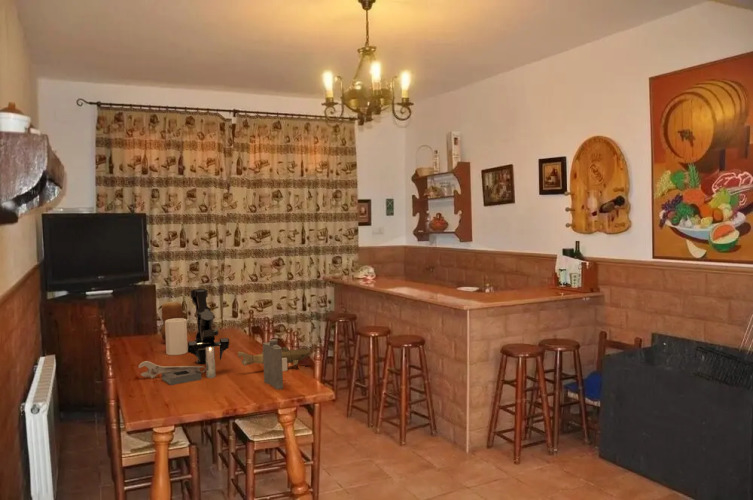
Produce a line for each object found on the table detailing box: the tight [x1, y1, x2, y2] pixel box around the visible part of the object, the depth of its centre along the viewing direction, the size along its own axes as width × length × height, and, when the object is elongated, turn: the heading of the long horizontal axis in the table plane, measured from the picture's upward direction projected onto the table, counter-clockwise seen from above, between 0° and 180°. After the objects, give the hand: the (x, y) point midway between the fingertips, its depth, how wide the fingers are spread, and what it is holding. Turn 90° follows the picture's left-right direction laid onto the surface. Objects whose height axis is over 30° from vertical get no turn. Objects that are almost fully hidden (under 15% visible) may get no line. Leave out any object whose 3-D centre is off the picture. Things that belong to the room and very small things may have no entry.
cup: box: [165, 317, 188, 356], centre depth 327 cm, size 11×11×18 cm
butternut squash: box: [161, 301, 184, 342], centre depth 354 cm, size 14×13×25 cm
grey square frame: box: [161, 368, 202, 386], centre depth 272 cm, size 12×14×3 cm
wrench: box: [138, 360, 206, 379], centre depth 280 cm, size 8×2×30 cm
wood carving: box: [237, 346, 311, 372], centre depth 285 cm, size 9×35×11 cm, turn 114°
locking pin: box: [205, 346, 216, 379], centre depth 275 cm, size 4×4×14 cm
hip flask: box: [262, 338, 284, 390], centre depth 260 cm, size 16×4×20 cm, turn 33°
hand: (210, 360), depth 275 cm, fingers open, 9 cm apart
